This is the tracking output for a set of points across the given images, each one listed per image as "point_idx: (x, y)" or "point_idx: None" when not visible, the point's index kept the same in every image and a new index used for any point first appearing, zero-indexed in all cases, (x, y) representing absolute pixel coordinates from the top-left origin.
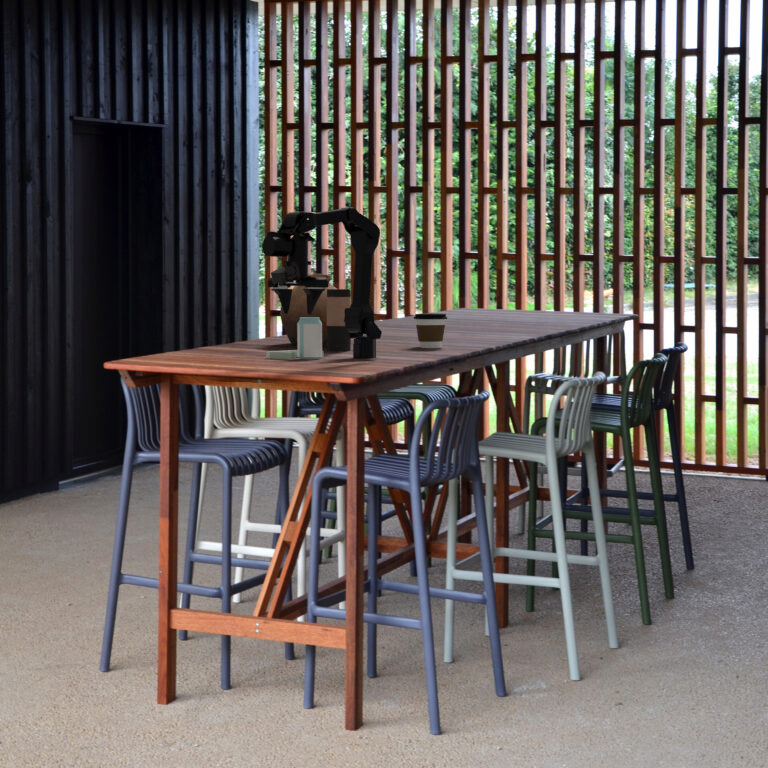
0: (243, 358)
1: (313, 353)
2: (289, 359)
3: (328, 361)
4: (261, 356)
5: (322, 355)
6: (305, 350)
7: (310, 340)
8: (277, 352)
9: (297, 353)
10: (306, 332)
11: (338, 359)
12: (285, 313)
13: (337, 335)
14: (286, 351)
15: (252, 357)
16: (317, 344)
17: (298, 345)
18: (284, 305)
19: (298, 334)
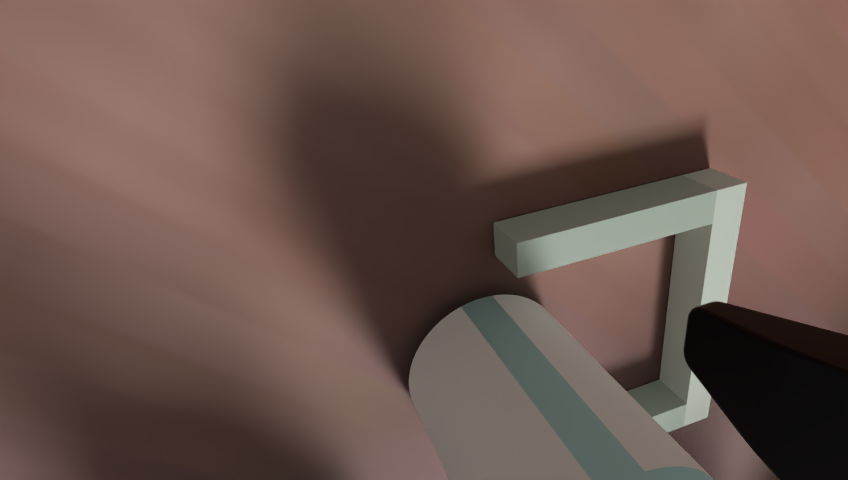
0: (826, 57)
1: (421, 372)
2: (512, 218)
3: (150, 346)
4: (839, 251)
5: None
6: (467, 341)
7: (471, 420)
8: (648, 207)
9: (673, 386)
10: (525, 444)
11: (327, 476)
12: (692, 312)
13: None
14: None
15: (833, 163)
16: (438, 445)
17: (552, 339)
18: (846, 392)
19: (601, 394)
